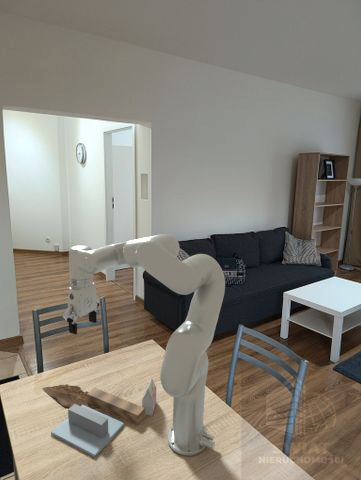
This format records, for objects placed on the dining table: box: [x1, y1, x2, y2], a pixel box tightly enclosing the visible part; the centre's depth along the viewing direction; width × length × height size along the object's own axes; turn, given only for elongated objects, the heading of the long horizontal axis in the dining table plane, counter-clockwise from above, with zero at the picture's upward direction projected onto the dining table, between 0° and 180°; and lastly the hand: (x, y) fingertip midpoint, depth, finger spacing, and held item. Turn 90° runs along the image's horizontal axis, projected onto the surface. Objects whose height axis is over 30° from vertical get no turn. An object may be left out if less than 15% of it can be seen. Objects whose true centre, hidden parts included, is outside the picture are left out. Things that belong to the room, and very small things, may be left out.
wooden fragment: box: [41, 383, 99, 409], centre depth 121 cm, size 26×11×1 cm, turn 65°
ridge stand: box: [50, 404, 125, 458], centre depth 105 cm, size 18×14×6 cm
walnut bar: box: [87, 387, 146, 426], centre depth 115 cm, size 22×4×4 cm, turn 63°
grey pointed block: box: [141, 378, 157, 416], centre depth 116 cm, size 4×7×10 cm, turn 173°
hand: (83, 327), depth 116 cm, fingers open, 9 cm apart
